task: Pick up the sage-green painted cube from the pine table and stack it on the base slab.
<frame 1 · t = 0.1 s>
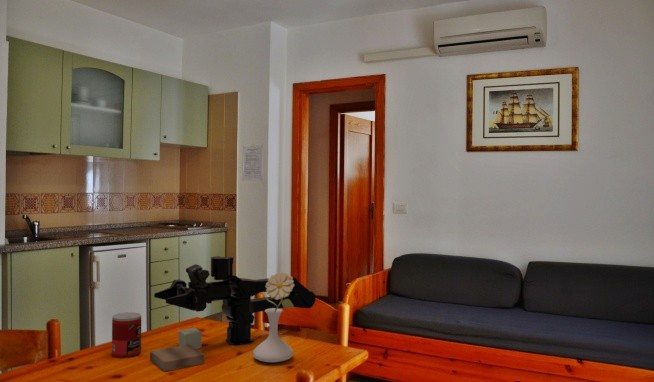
hand: (159, 298, 145), 17 cm above the table, tool horizontal, fingers open, 9 cm apart
flower in vase: (275, 360, 144), on the table
canned food: (126, 354, 147), on the table
cube: (189, 347, 154), on the table
base: (176, 361, 141), on the table
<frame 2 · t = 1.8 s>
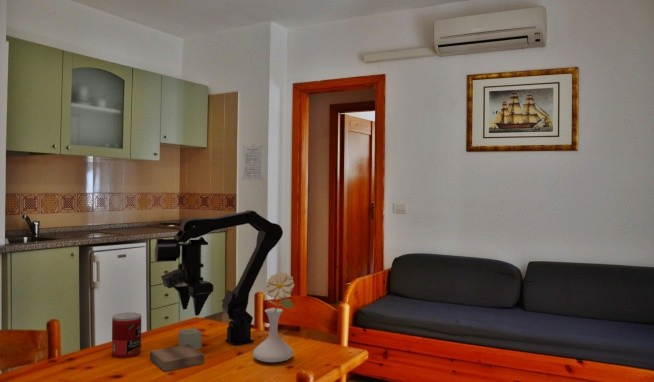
hand: (190, 312, 154), 11 cm above the table, tool pointing down, fingers open, 9 cm apart
nothing on the table moved.
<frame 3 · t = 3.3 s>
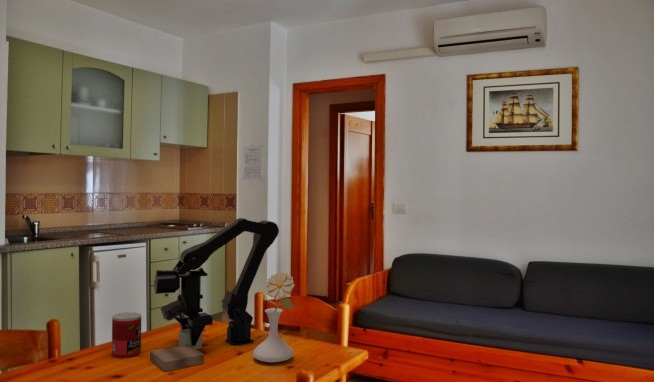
hand: (189, 343, 154), 1 cm above the table, tool pointing down, fingers closed on cube, 5 cm apart
cube: (189, 347, 154), on the table, touching gripper
everything else where it was.
when the fingers open (5 cm above the table, at t = 6.6 s): cube drops 1 cm, resting on base.
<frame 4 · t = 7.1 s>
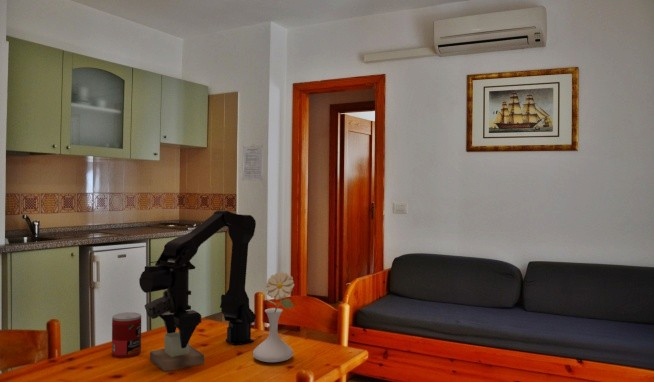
hand: (177, 343, 141), 5 cm above the table, tool pointing down, fingers open, 9 cm apart
cube: (176, 352, 141), point 2 cm above the table, touching base
everything else where it was.
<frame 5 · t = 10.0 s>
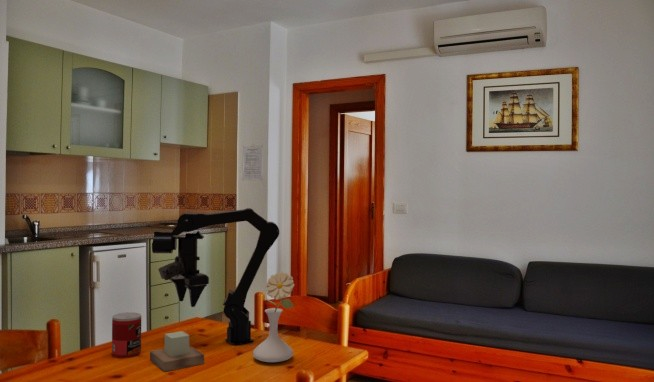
hand: (186, 303, 158), 12 cm above the table, tool pointing down, fingers open, 9 cm apart
nothing on the table moved.
at the end: cube inside the target area on the base (0.0 cm from its centre), point 2.5 cm above the base's base; cube tilted 0°; the gripper is holding nothing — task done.
